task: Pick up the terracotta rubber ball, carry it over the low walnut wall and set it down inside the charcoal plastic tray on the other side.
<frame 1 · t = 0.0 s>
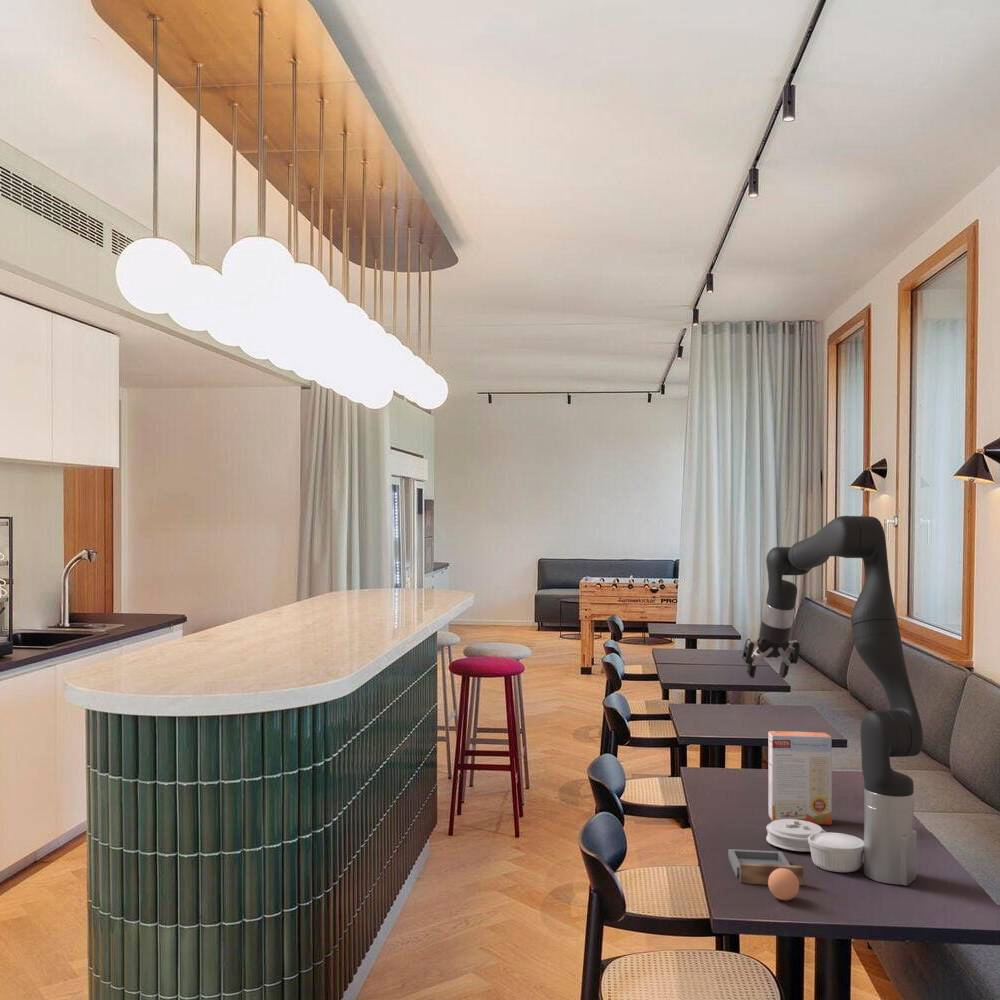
hand: (766, 676, 250), 31 cm above the table, tool tilted 20°, fingers open, 8 cm apart
tray: (759, 869, 196), on the table
ball: (783, 884, 180), point 3 cm above the table
cracker box: (799, 821, 230), on the table
lid: (795, 847, 212), on the table
wall: (771, 883, 188), on the table
ramekin: (836, 866, 199), on the table, touching arm
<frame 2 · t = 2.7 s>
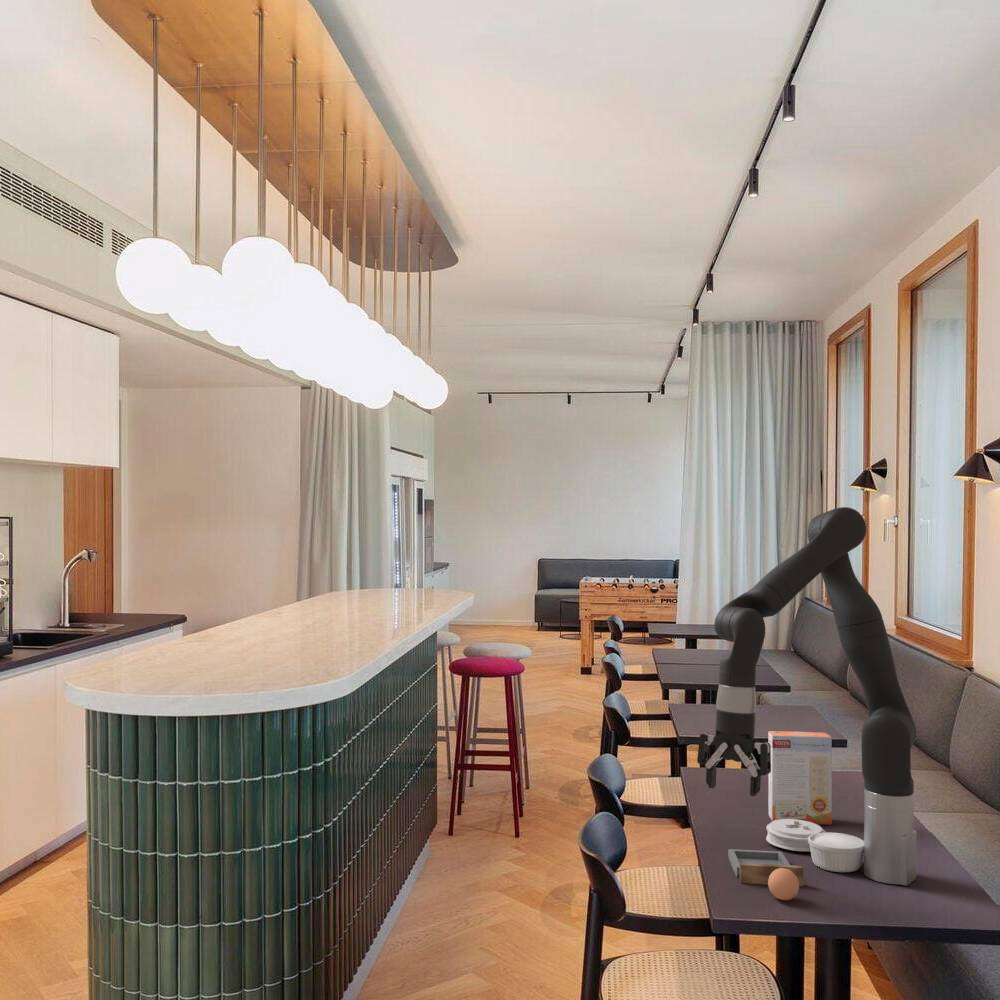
hand: (732, 791, 189), 18 cm above the table, tool pointing down, fingers open, 8 cm apart
nothing on the table moved.
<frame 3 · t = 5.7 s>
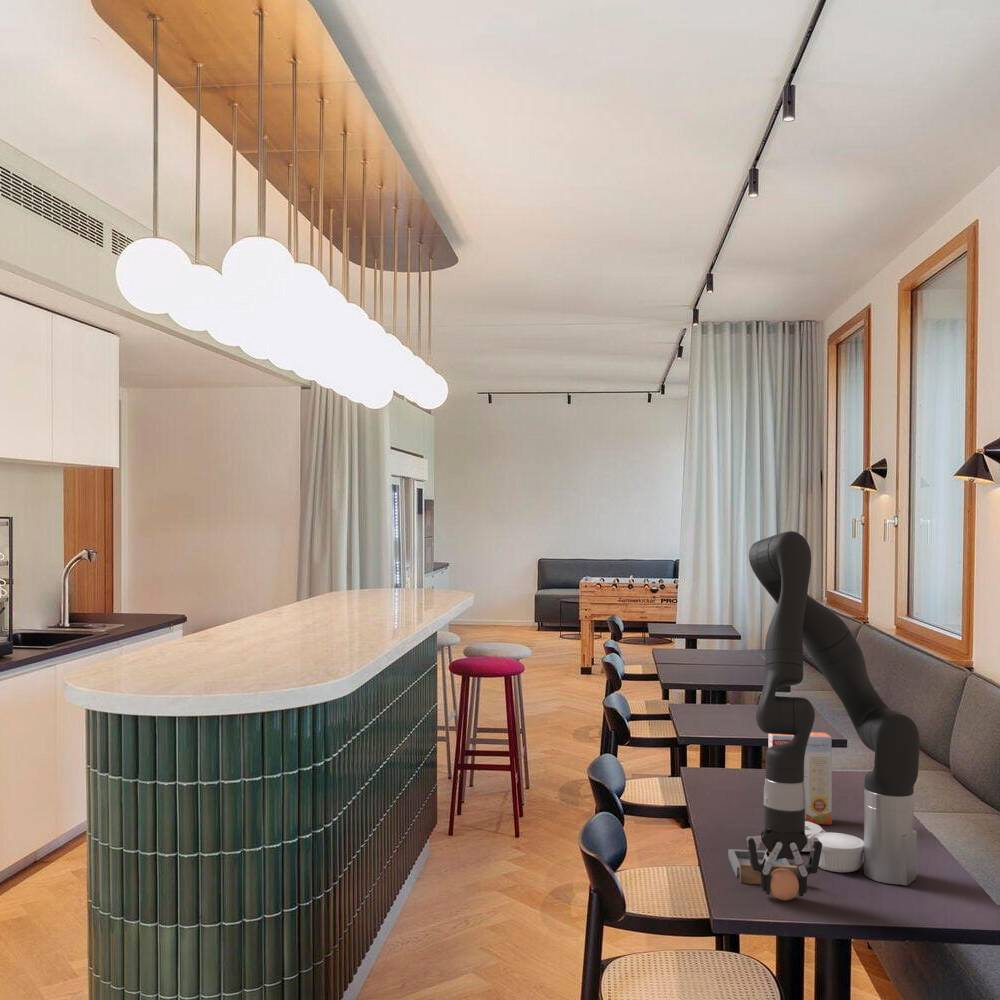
hand: (783, 893, 180), 1 cm above the table, tool pointing down, fingers closed on ball, 5 cm apart
ball: (783, 884, 180), point 3 cm above the table, touching gripper
everything else where it was.
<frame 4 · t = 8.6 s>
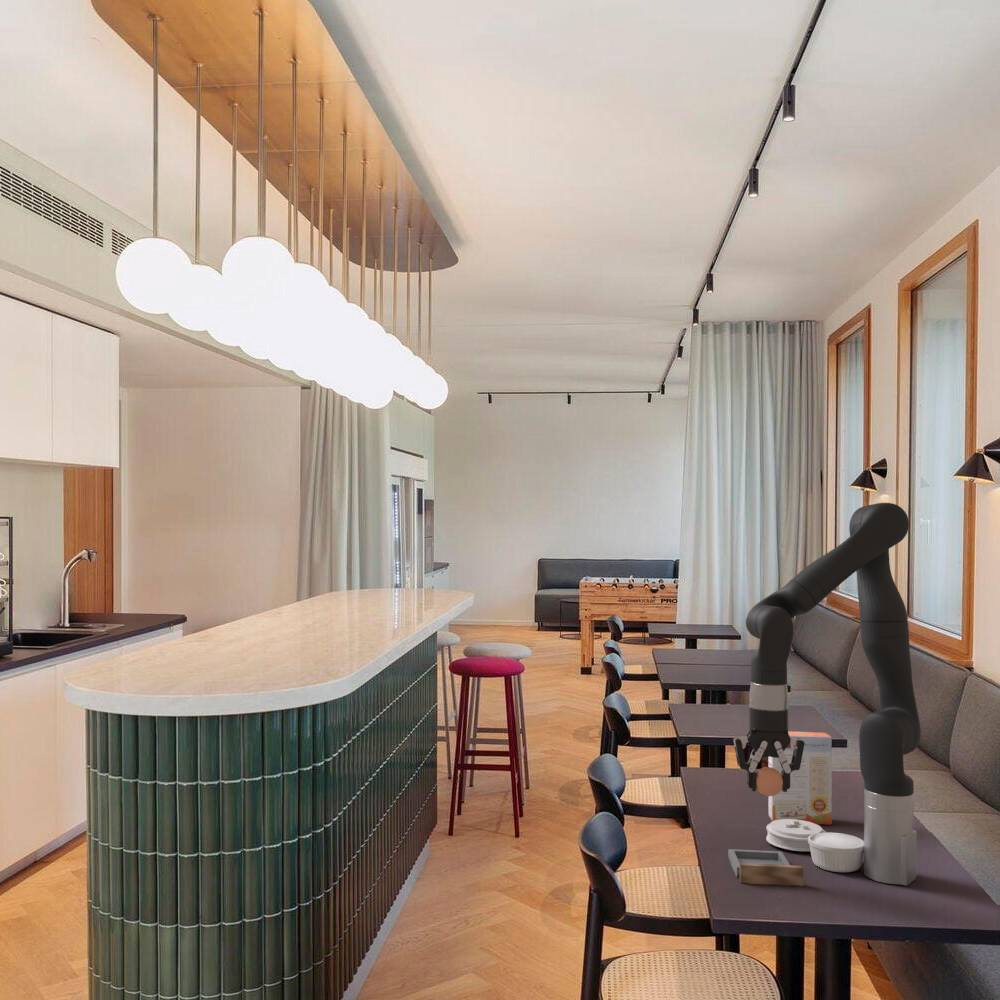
hand: (768, 790, 191), 17 cm above the table, tool pointing down, fingers closed on ball, 5 cm apart
ball: (768, 781, 191), point 19 cm above the table, touching gripper
everything else where it was.
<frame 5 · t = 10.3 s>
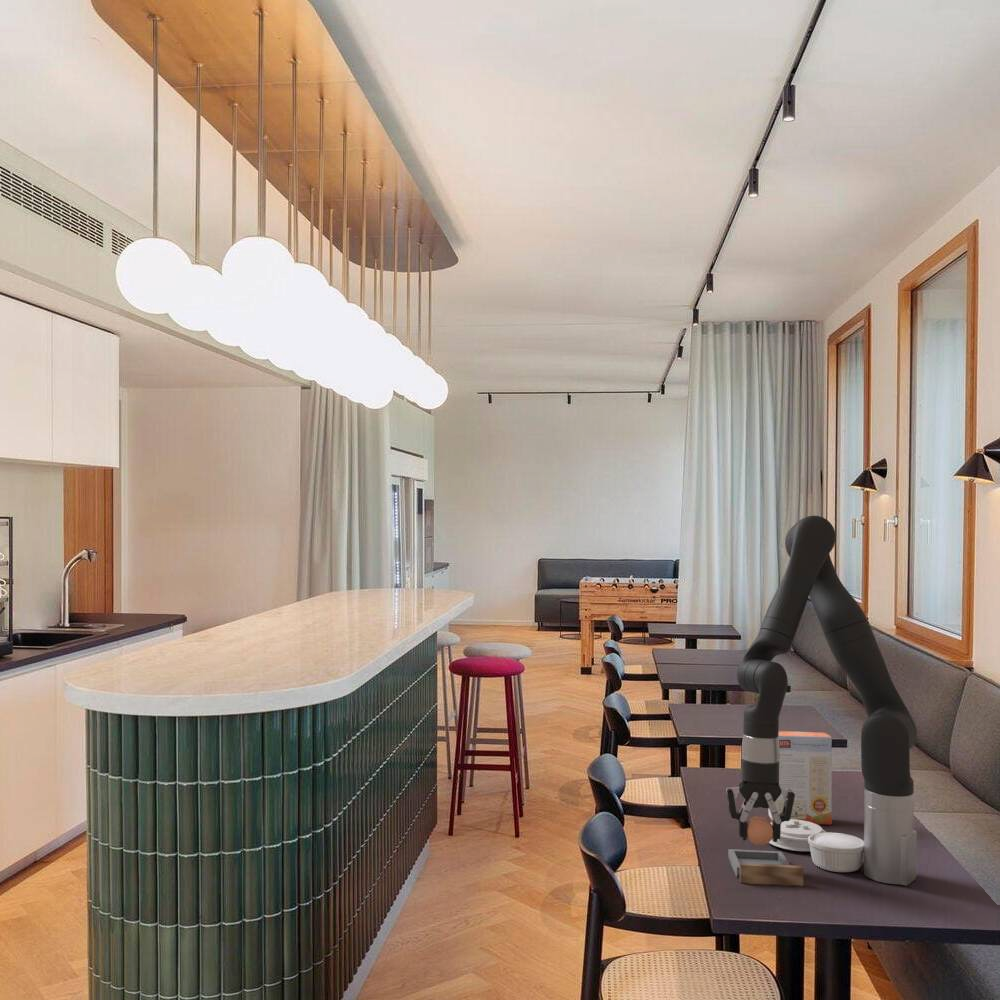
hand: (759, 839, 197), 6 cm above the table, tool pointing down, fingers closed on ball, 5 cm apart
ball: (759, 830, 197), point 8 cm above the table, touching gripper
everything else where it was.
when the fingers open (3 cm above the table, at t = 11.5 s): ball drops 1 cm, resting on tray.
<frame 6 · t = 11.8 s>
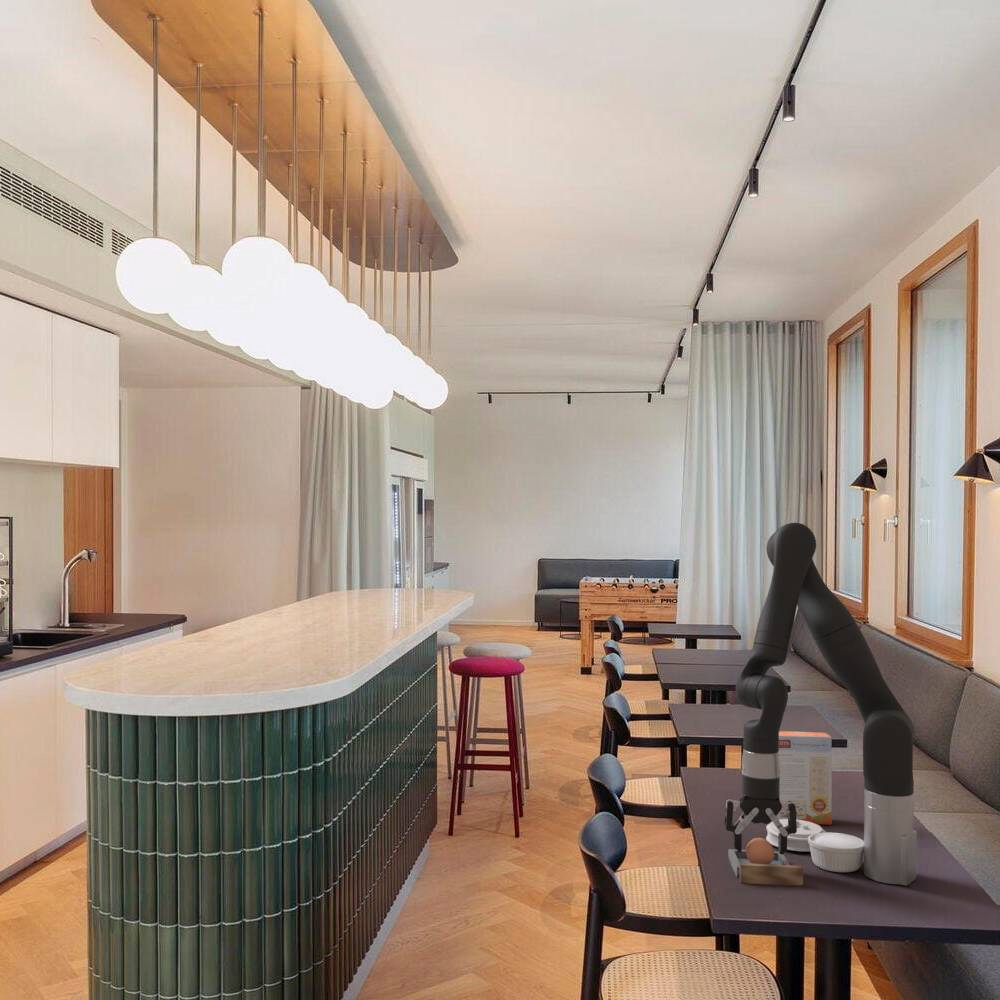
hand: (759, 852, 196), 3 cm above the table, tool pointing down, fingers open, 8 cm apart
ball: (760, 852, 196), point 3 cm above the table, touching tray
everything else where it was.
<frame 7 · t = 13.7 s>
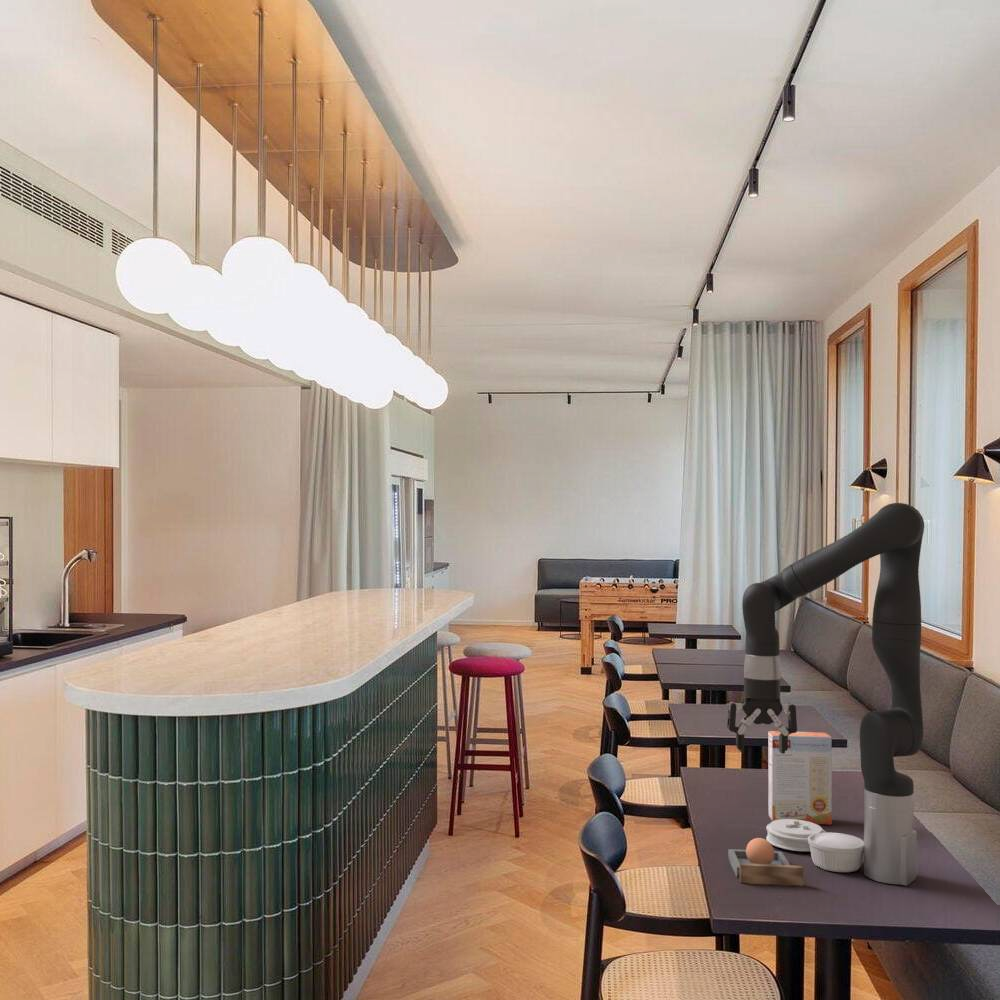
hand: (761, 752, 204), 22 cm above the table, tool pointing down, fingers open, 8 cm apart
nothing on the table moved.
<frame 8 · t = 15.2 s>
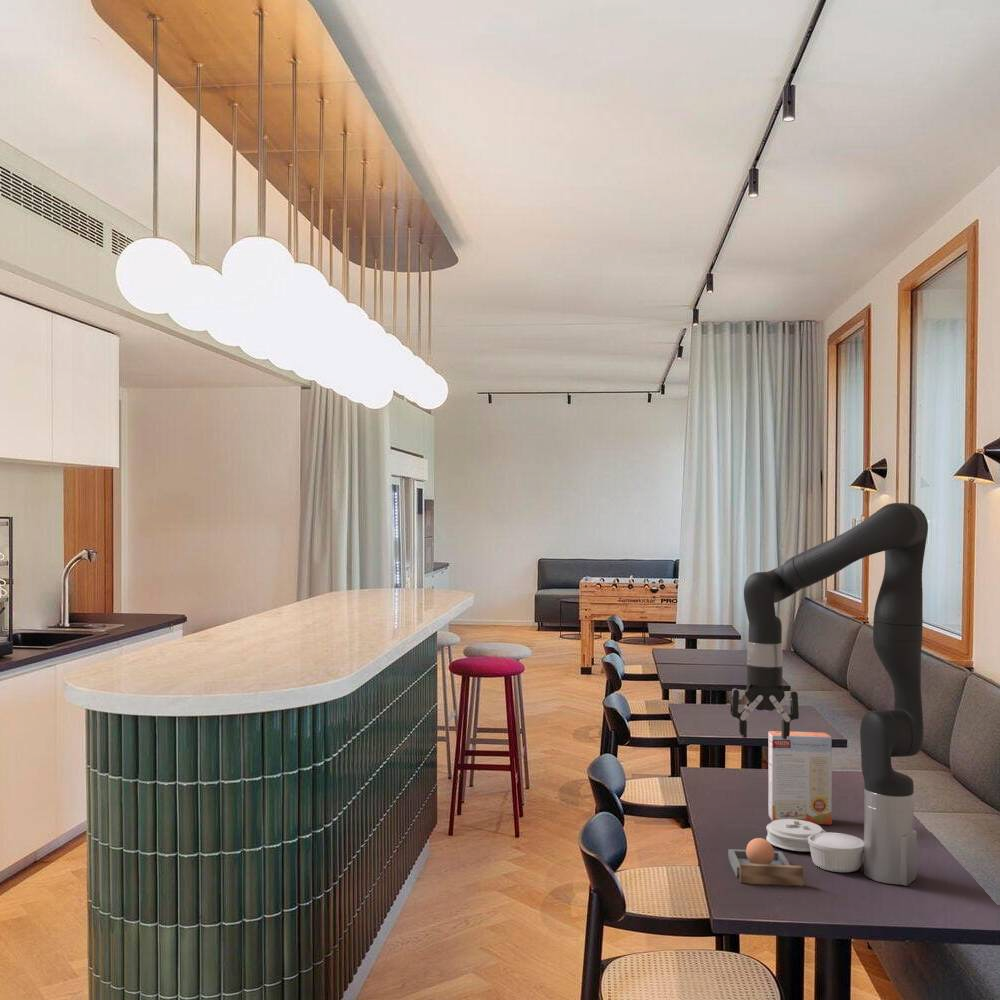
hand: (763, 737, 209), 24 cm above the table, tool pointing down, fingers open, 8 cm apart
nothing on the table moved.
at the end: ball 0.1 cm off-centre on the tray, point 3.4 cm above the tray's base; the gripper is holding nothing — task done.
